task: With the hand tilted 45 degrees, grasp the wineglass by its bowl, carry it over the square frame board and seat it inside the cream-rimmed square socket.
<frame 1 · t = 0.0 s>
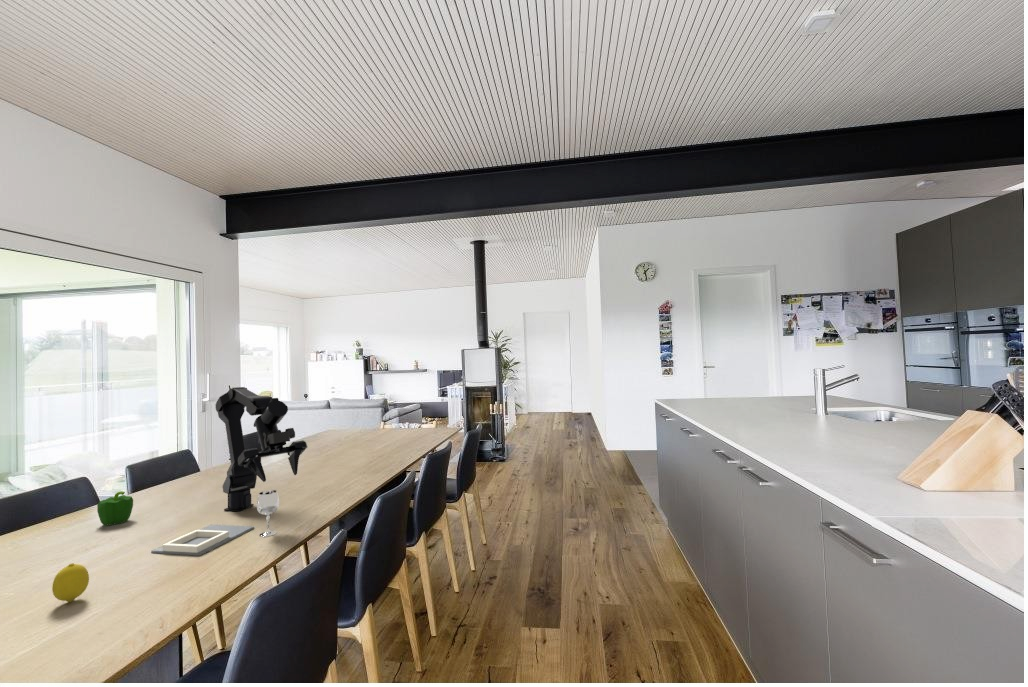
hand: (280, 477, 136), 15 cm above the table, tool tilted 35°, fingers open, 9 cm apart
square frame board: (206, 539, 127), on the table
bell pepper: (115, 523, 143), on the table
lemon: (70, 603, 95), on the table
wineglass: (268, 534, 131), on the table
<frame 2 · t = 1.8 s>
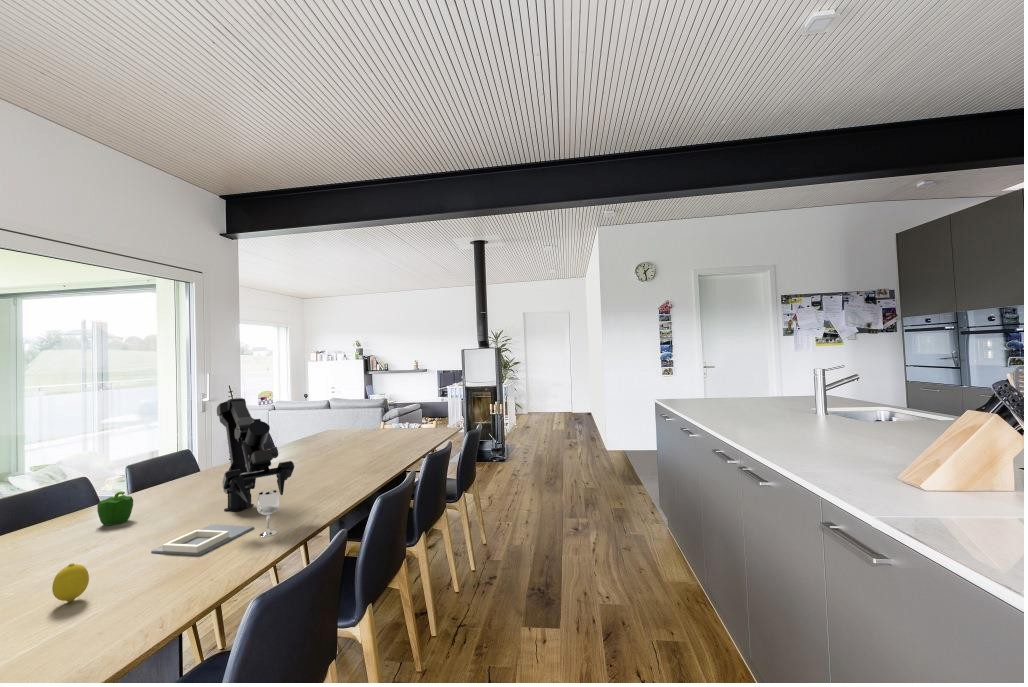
hand: (265, 497, 133), 10 cm above the table, tool tilted 45°, fingers open, 9 cm apart
nothing on the table moved.
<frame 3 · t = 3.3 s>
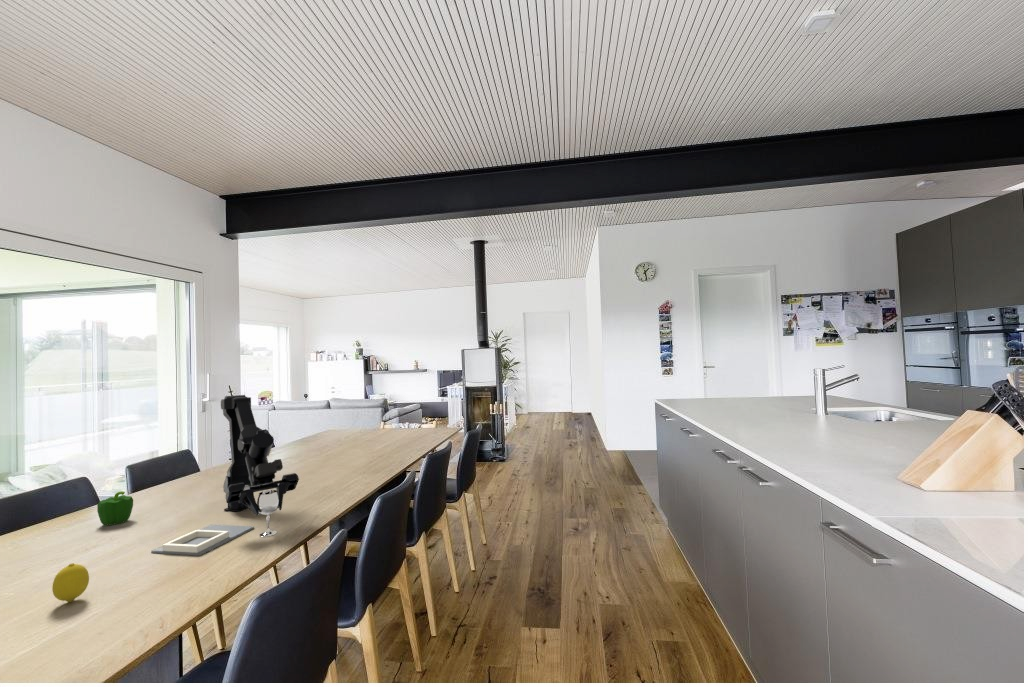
hand: (269, 512, 130), 7 cm above the table, tool tilted 45°, fingers closed on wineglass, 6 cm apart
wineglass: (268, 534, 131), on the table, touching gripper
everything else where it was.
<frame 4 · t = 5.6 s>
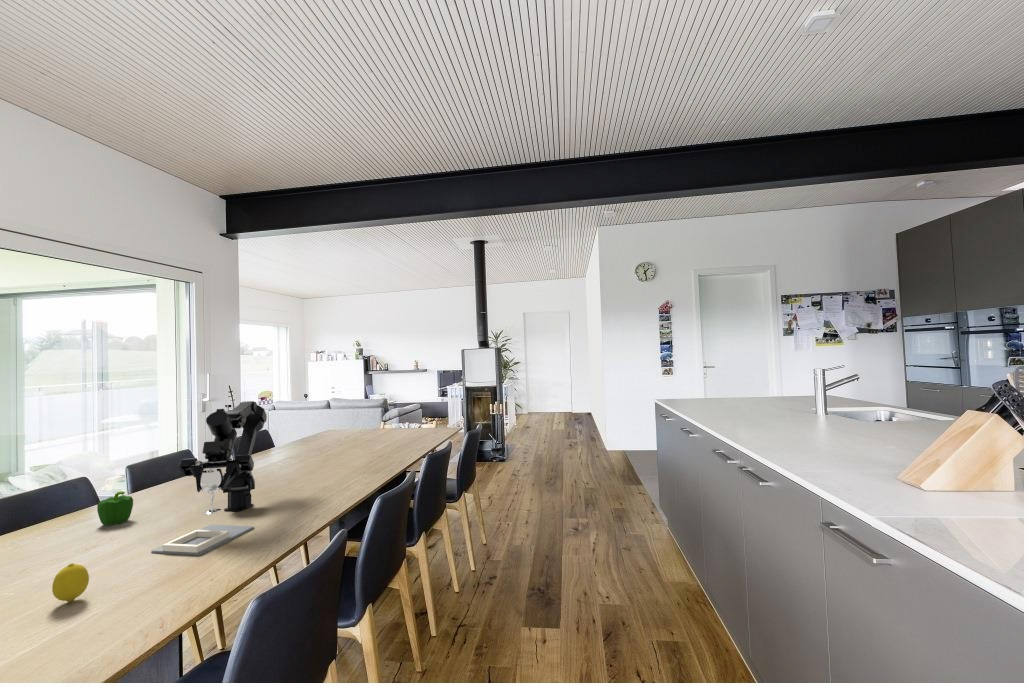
hand: (210, 490, 130), 13 cm above the table, tool tilted 45°, fingers closed on wineglass, 6 cm apart
wineglass: (212, 512, 132), point 6 cm above the table, touching gripper
everything else where it was.
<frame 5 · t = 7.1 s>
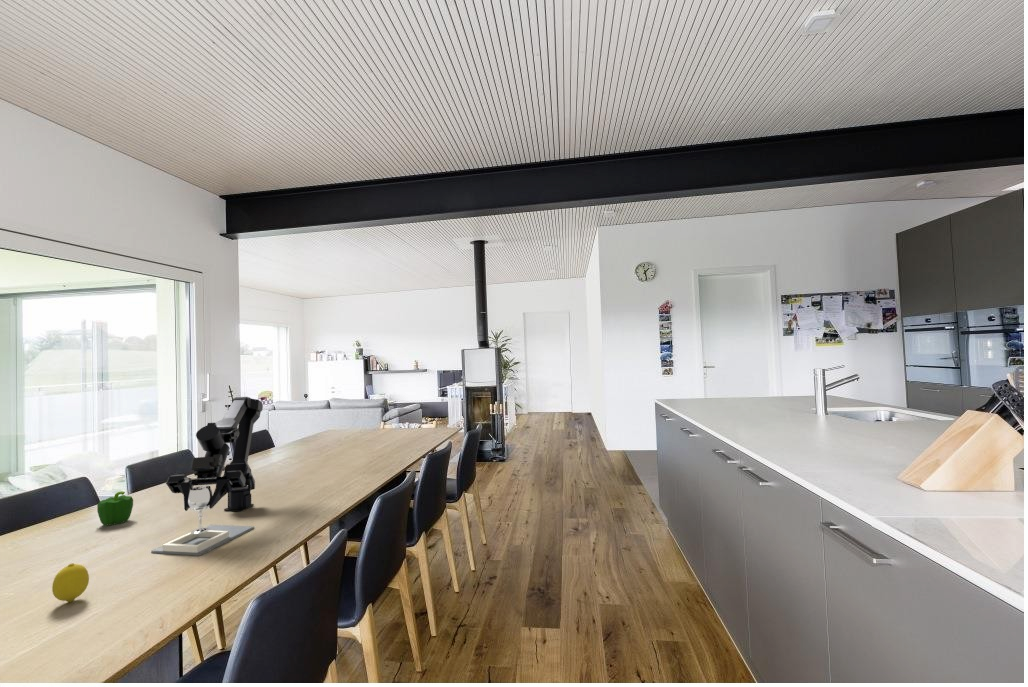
hand: (198, 509, 124), 10 cm above the table, tool tilted 45°, fingers closed on wineglass, 6 cm apart
wineglass: (200, 531, 125), point 3 cm above the table, touching gripper
everything else where it was.
when the fingers open (8 cm above the table, at t = 8.1 s): wineglass drops 1 cm, resting on square frame board.
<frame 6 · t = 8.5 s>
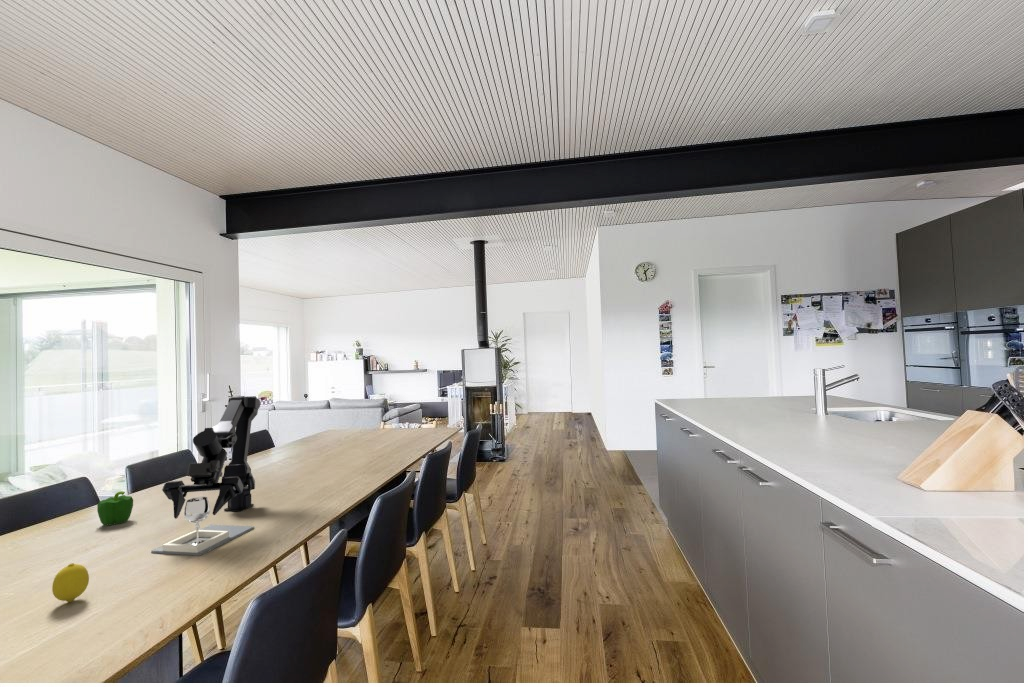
hand: (194, 516, 122), 9 cm above the table, tool tilted 45°, fingers open, 9 cm apart
wineglass: (197, 544, 123), resting on square frame board
everything else where it was.
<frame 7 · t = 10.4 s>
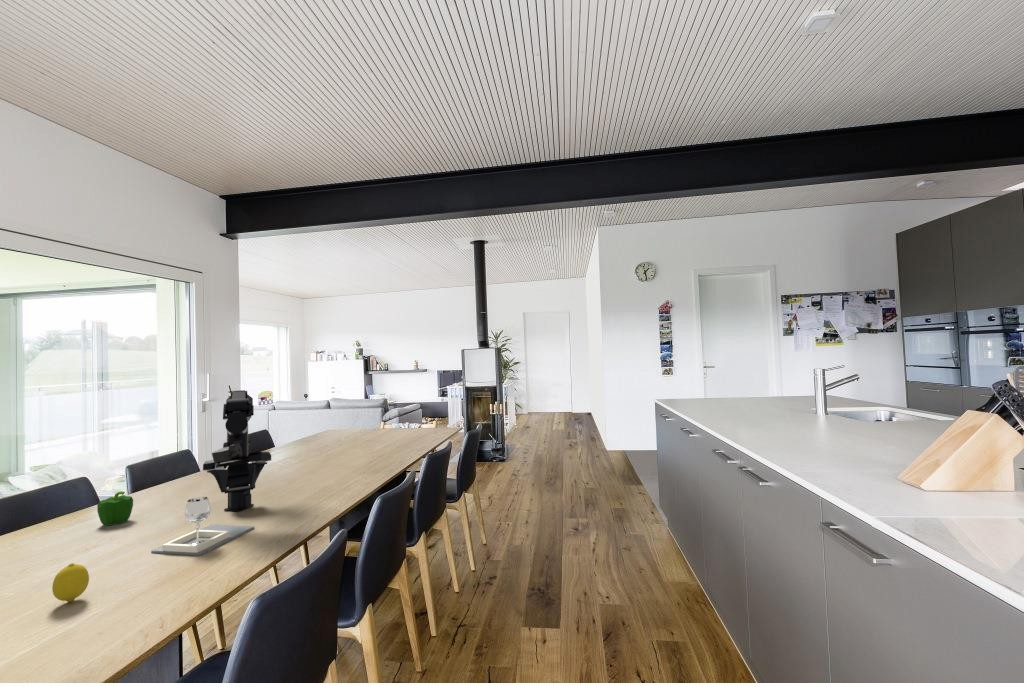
hand: (237, 489, 137), 11 cm above the table, tool tilted 15°, fingers open, 9 cm apart
nothing on the table moved.
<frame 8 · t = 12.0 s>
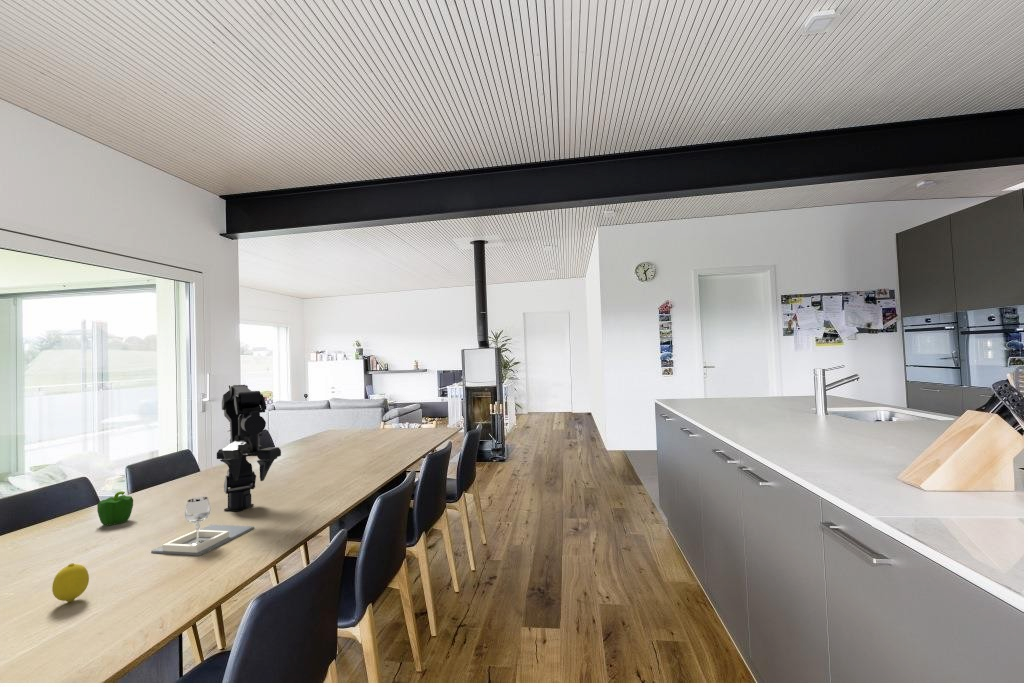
hand: (249, 480, 141), 13 cm above the table, tool pointing down, fingers open, 9 cm apart
nothing on the table moved.
at the end: wineglass 0.1 cm from the target spot on the square frame board, point 0.4 cm above the square frame board's base; wineglass tilted 0°; the gripper is holding nothing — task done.
